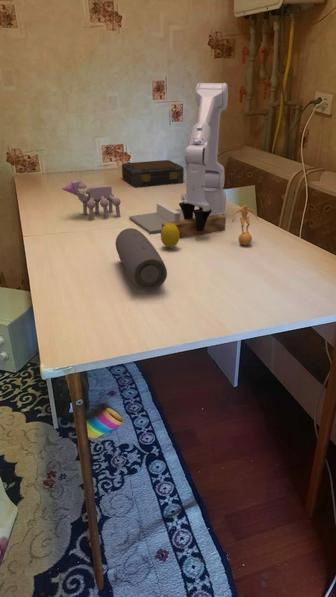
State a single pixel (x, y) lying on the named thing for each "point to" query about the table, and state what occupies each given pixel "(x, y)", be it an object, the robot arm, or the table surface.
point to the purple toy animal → (94, 197)
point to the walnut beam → (189, 228)
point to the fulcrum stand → (157, 218)
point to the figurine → (245, 236)
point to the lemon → (170, 235)
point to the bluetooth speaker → (140, 259)
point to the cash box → (152, 173)
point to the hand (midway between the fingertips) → (194, 227)
